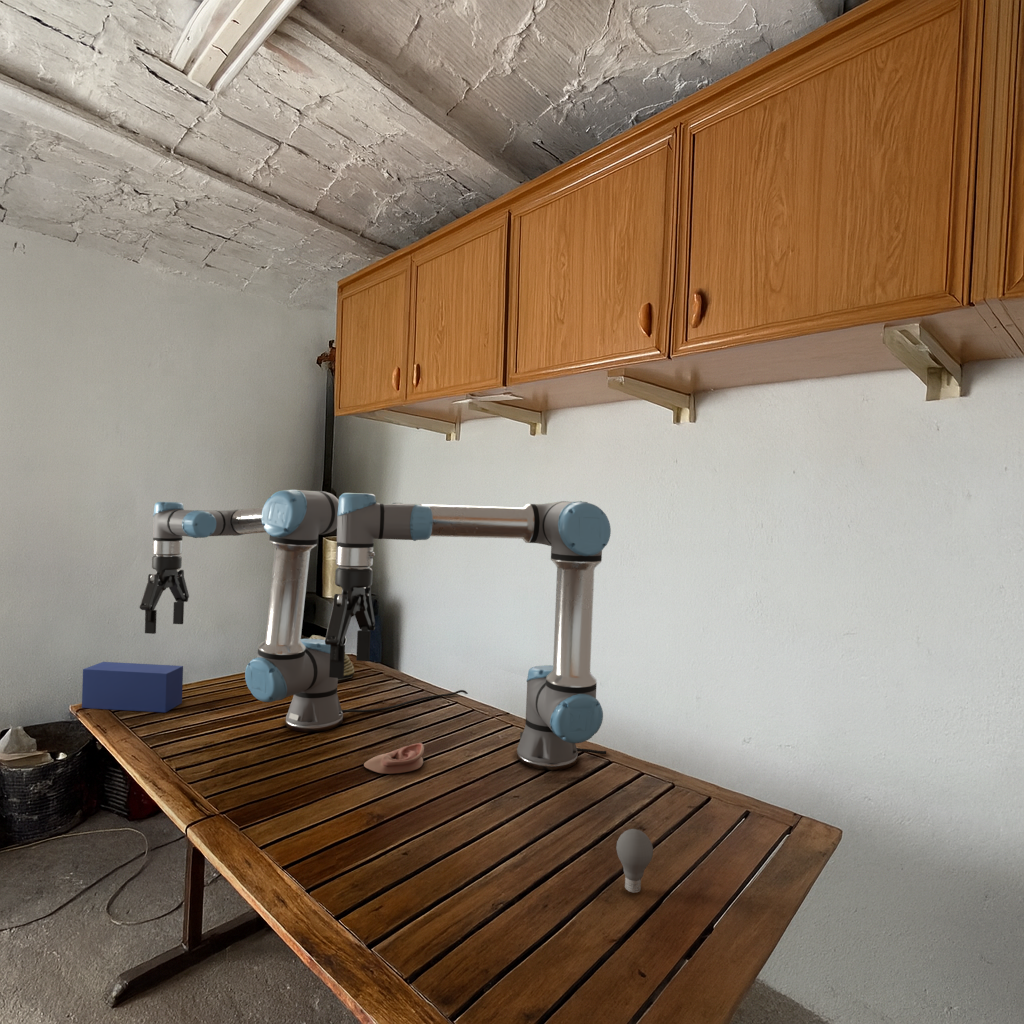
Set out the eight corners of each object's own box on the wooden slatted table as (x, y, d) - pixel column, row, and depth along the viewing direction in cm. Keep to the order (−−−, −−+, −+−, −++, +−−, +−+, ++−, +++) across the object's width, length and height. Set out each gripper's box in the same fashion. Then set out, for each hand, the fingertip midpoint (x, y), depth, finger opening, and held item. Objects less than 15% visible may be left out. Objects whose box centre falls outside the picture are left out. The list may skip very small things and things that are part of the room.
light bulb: (610, 879, 108) (613, 822, 108) (644, 879, 109) (647, 822, 109) (619, 902, 102) (622, 840, 102) (655, 901, 103) (658, 840, 103)
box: (182, 703, 188) (183, 665, 187) (165, 712, 179) (166, 673, 179) (101, 698, 188) (103, 661, 188) (81, 707, 180) (82, 669, 180)
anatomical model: (358, 753, 147) (378, 735, 158) (357, 770, 147) (378, 751, 158) (412, 760, 144) (429, 742, 155) (412, 778, 144) (428, 758, 155)
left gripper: (179, 551, 195) (176, 619, 196) (126, 558, 170) (123, 636, 171) (202, 552, 195) (200, 620, 195) (153, 559, 170) (150, 638, 171)
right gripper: (346, 574, 119) (342, 687, 119) (391, 562, 143) (388, 655, 144) (309, 572, 120) (305, 683, 120) (360, 560, 145) (356, 653, 145)
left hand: (164, 628), depth 183 cm, fingers open, 13 cm apart
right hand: (350, 668), depth 132 cm, fingers open, 13 cm apart
